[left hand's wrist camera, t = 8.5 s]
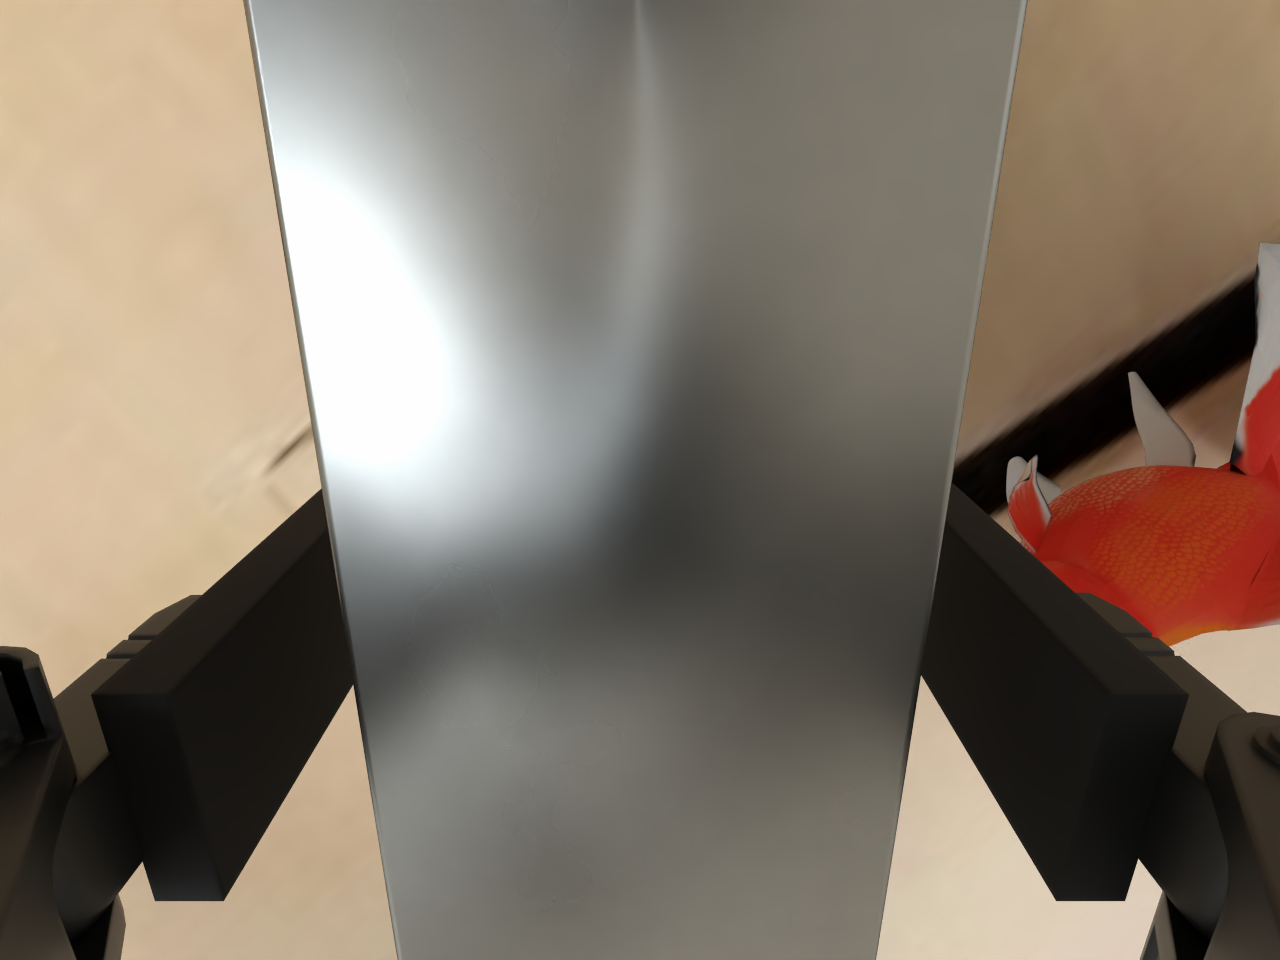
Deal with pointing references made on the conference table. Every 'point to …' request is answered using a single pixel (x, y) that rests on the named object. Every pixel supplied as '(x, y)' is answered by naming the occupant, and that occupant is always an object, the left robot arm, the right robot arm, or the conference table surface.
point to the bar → (636, 441)
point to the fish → (1175, 509)
